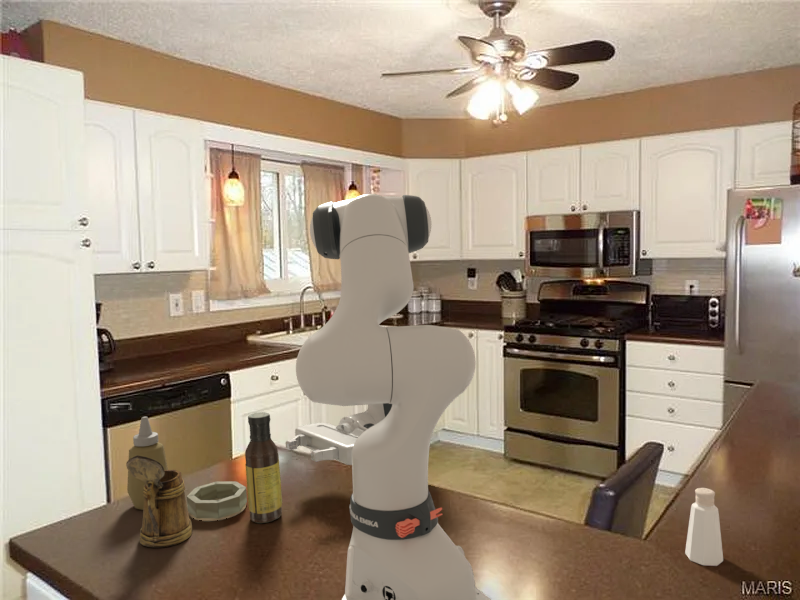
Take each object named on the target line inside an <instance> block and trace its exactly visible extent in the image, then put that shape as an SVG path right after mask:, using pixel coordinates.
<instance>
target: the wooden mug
mask: <svg viewBox="0 0 800 600" xmlns="http://www.w3.org/2000/svg"><path fill="white" fill-rule="evenodd" d="M125 466H126V469H127V472H128V471H129V473H130V474H131V475H132V476H133V477H135V478H137V479H139V480H141V481H143V482H144V483H145V485H144V489H143V496H144V508H143V510H142V524H141V528H140V529H139V530H140V531H139V544H140V545H142V546H144V547H147V548H153V549H155V548H157V549H158V548H159V549H161V548H168V547H171V546H176V545H179V544H181V543H183V542H185V541H186V540H188V539H189V538H190V537H191V536H192V534H193V525H192V520H191V518H190V515H189V512H188V508H187V497H186V494H185V491H186V485H185V480H184V478H183V476H182V472H181V471H179V470H176V469H168V470H164V468H163V466H162V465H161V464H160V463H159V462H157V461H155V460H153V459H151V458H147V457H143V456H138V455H137V456H135V457H133V458H131V459H129V458H128V460H127V461H126V465H125Z"/></svg>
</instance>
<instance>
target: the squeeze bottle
mask: <svg viewBox="0 0 800 600" xmlns="http://www.w3.org/2000/svg"><path fill="white" fill-rule="evenodd" d="M132 440H133V441H132V442H133V443H132V444H133V446H132V447H130V448H129V449H128V460H129V459H131V458H133V457H135V456H137V455H138V456H143V457H147V458H151V459H153V460H155V461H157V462H159V463H160V464H161V465H162V466H163V468H164V470H169V469H168V463H167V457H166V451H165V446H164V444H163V443H162V442H159V433H158V432H155V431H152V427H151V423H150V420H149V417H148V416H142V417H141V419H140V424H139V430H138V434H135V435H134V436H133V438H132ZM144 485H145V483H144V482H143V481H141V480H139V479H137V478H135V477H133V476H132V475H131V474H130V473H129V471H128V470H127V486H126V487H127V488H126V489H127V491H126V492H127V493H128V496H129V499H130V500H131V503H132V505H133V506H134V509H137V510H141V511H143V508H144V496H143V489H144Z"/></svg>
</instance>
